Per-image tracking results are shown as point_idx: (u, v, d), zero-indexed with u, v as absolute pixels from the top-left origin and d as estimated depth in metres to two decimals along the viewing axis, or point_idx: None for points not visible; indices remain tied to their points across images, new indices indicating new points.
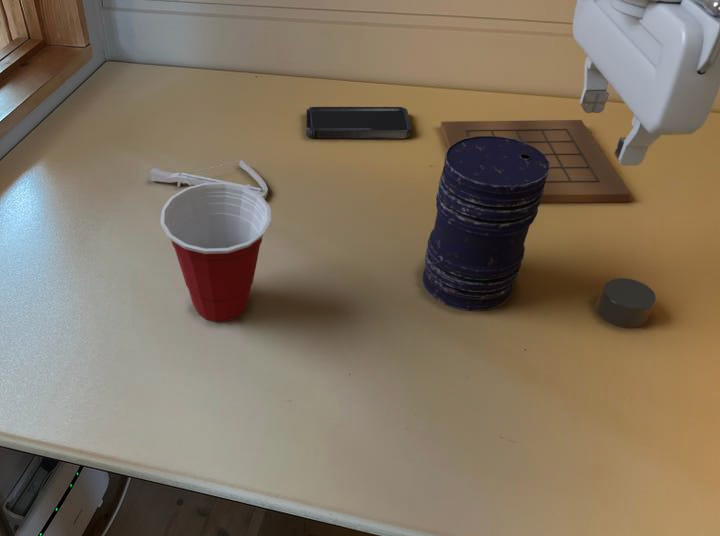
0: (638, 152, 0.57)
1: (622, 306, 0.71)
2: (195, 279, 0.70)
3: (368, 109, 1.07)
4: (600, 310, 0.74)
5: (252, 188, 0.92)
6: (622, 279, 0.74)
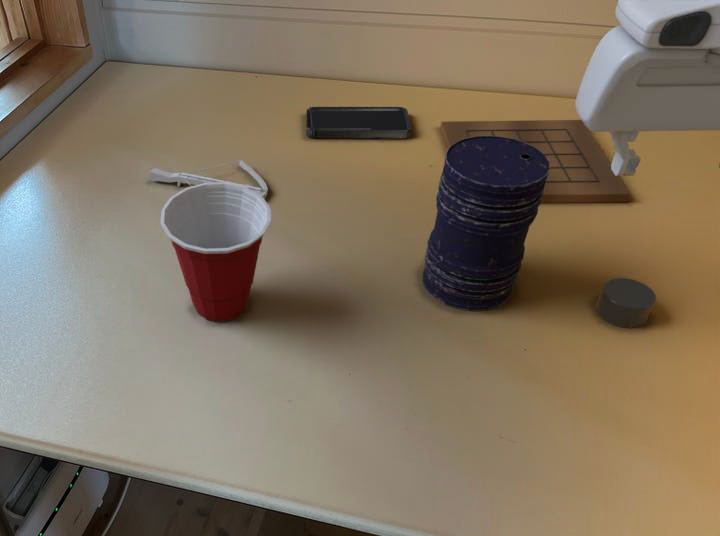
0: None
1: (622, 306, 0.71)
2: (195, 279, 0.70)
3: (368, 109, 1.07)
4: (600, 310, 0.74)
5: (252, 188, 0.92)
6: (622, 279, 0.74)
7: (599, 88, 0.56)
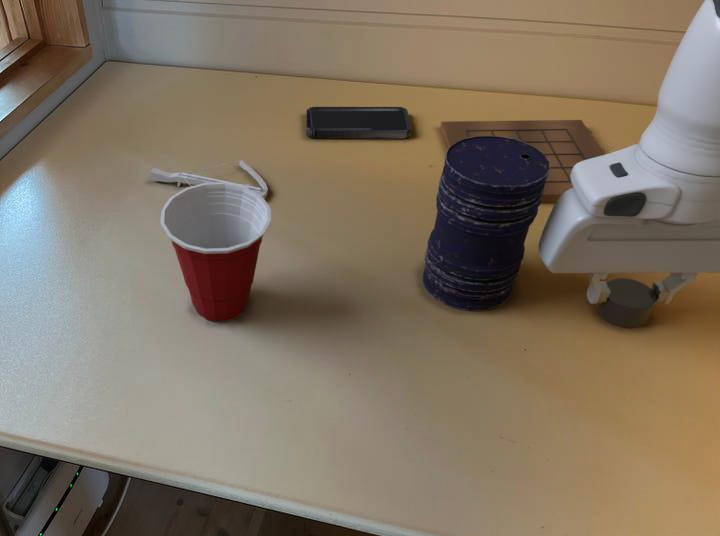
0: None
1: (622, 306, 0.71)
2: (195, 279, 0.70)
3: (368, 109, 1.07)
4: (600, 310, 0.74)
5: (252, 188, 0.92)
6: (622, 279, 0.74)
7: (556, 242, 0.67)
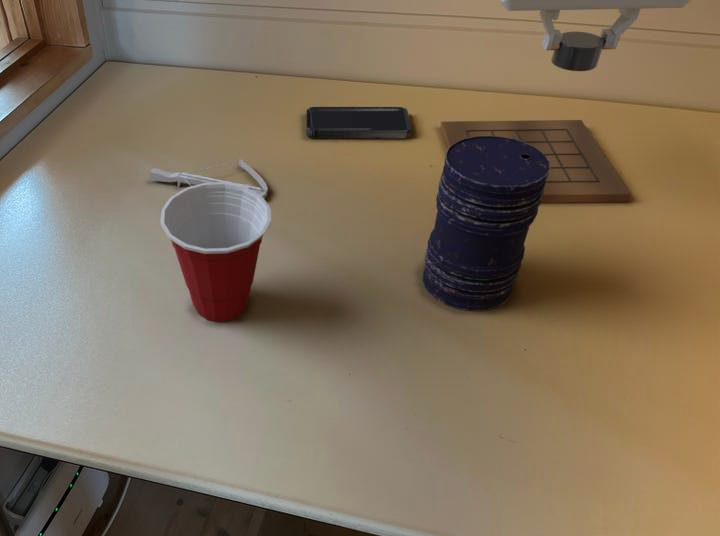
0: None
1: (573, 47, 0.79)
2: (195, 279, 0.70)
3: (368, 109, 1.07)
4: (555, 59, 0.81)
5: (252, 188, 0.92)
6: (575, 32, 0.82)
7: None
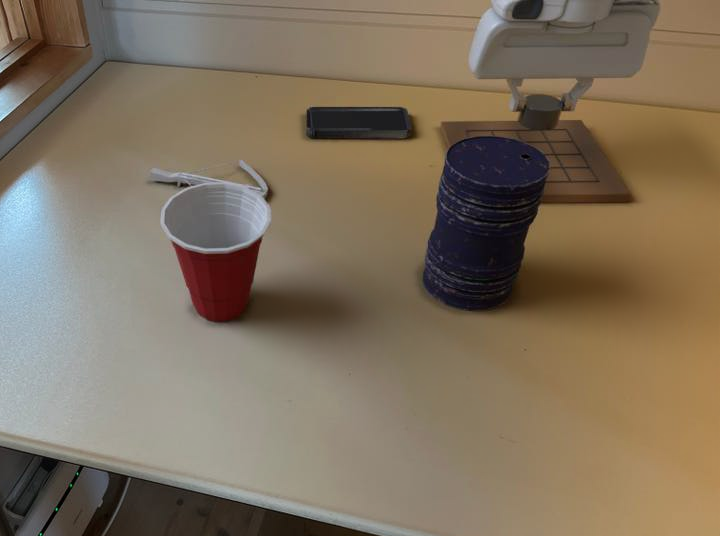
0: None
1: (535, 110, 0.89)
2: (195, 279, 0.70)
3: (368, 109, 1.07)
4: (520, 118, 0.92)
5: (252, 188, 0.92)
6: (538, 94, 0.92)
7: (479, 49, 0.85)
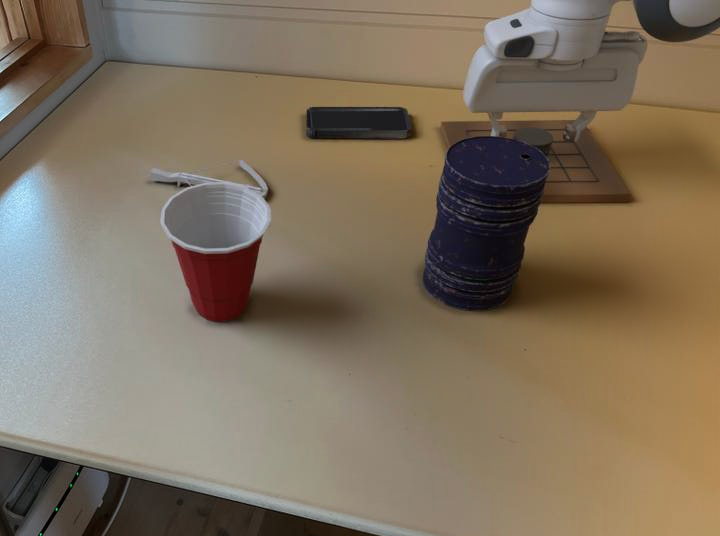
0: None
1: None
2: (195, 279, 0.70)
3: (368, 109, 1.07)
4: None
5: (252, 188, 0.92)
6: (529, 128, 0.95)
7: (473, 84, 0.87)
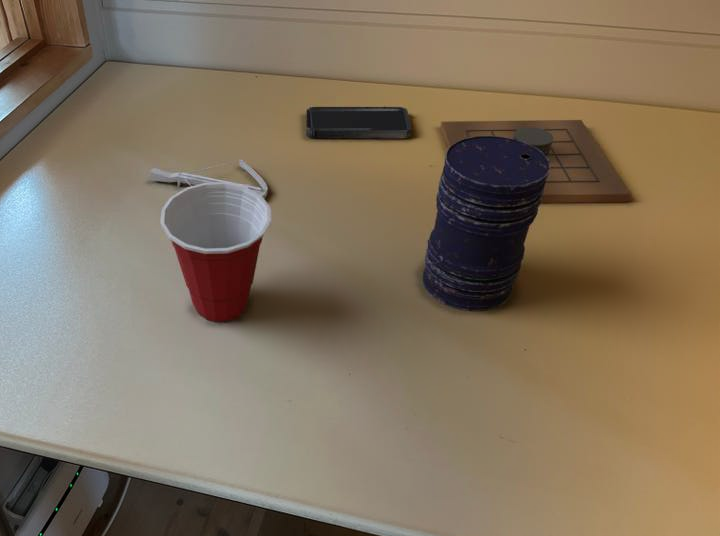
0: None
1: None
2: (195, 279, 0.70)
3: (368, 109, 1.07)
4: None
5: (252, 188, 0.92)
6: (529, 128, 0.95)
7: None
